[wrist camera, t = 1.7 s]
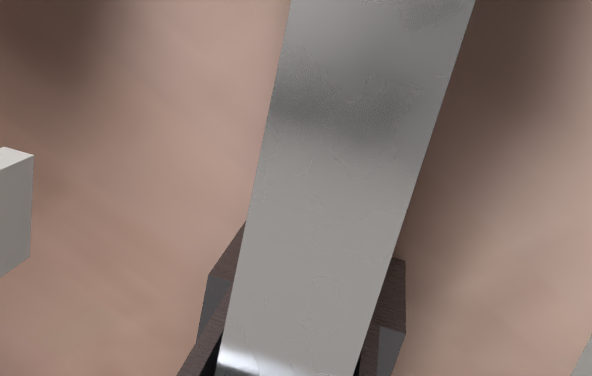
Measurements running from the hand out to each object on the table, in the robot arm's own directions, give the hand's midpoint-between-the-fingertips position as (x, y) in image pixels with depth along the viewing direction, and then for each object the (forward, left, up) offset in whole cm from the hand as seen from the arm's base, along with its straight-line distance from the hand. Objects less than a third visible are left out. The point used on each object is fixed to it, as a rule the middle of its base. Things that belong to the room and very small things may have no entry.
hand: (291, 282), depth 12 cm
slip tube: (0, +3, -6) cm, 7 cm away
